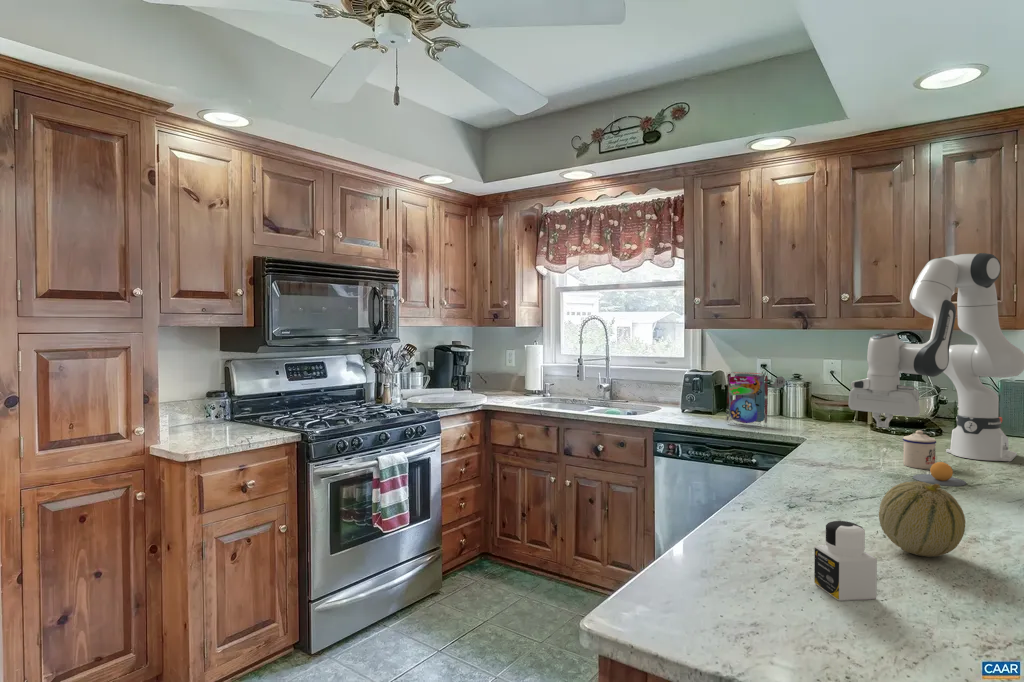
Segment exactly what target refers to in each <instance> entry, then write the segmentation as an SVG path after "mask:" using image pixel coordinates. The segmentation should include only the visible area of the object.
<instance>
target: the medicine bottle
mask: <svg viewBox="0 0 1024 682" xmlns="http://www.w3.org/2000/svg"><path fill="white" fill-rule="evenodd" d="M865 540H866V530H865V529H864V528H863V527H862V526H860V525H858V524H857V523H854V522H851V521H847V520H846V521H845V520H833V521H830V522H827V524H825V544H821V545H819V544H818V545H815V546H814V566H813V568H814V570H813V571H814V573H813V576H814V578H813V579H814V585H816V586H818V587H819V588H820V589H821V590H823V591H825V592H826V593H827V594H829V595H830V596H831V597H833V598H834V599H835V600H836V601H838V602H842V601H844V602H845V601H846V602H847V601H861V600H863V601H864V600H876V599H877V598H878V597H877V595H878V591H877V589H878V587H877V586H878V577H877V576H878V559H877V558H876V557H875V556H873V555H871V554H869V553H868V552H865V551H866V550H865V549H866V547H865V546H866V544H865V542H866V541H865Z"/></svg>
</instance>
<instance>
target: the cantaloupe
mask: <svg viewBox="0 0 1024 682" xmlns="http://www.w3.org/2000/svg"><path fill="white" fill-rule="evenodd" d="M881 499H882V500H881V502H880V505H879V510H878V520H879V525H880V528H881V530H882V532H883V533H884V535H885V536H886V537H888V539H889V540H890V541H891V543H893V544H894V545H895V546H897V547H898V548H900V549H901V550H902V551H904V552H906V553H910V554H913V555H915V556H920V557H927V558H929V557H940V556H943V555H946V554H949V553H951V552H952V551H954V550H955V549H956V548H957V547H958V545H959V544H960V543H961V541H962V539H963V538H964V535H965V530H966V524H967V523H966V516H965V513H964V510H963V509H962V507H961V505H960V504H959V502H958V501H957V500H956V499H955V497H954V496H953V495H952V494H950V493H949V492H948V490H945V489H943V488H942V487H941V485H939V484H928V483H925V482H920V481H917V480H915V481H905V482H901V483H898V484H897V485H894V486H892V487H891V488H890V489H888V491H887V492H886V493H885V494H884V496H883V497H882V498H881Z"/></svg>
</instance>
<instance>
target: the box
mask: <svg viewBox="0 0 1024 682" xmlns="http://www.w3.org/2000/svg"><path fill="white" fill-rule="evenodd" d="M732 374H735V375H734V376H732ZM768 376H769V375H768V374H767V373H763V372H749V371H748V372H745V371H742V372H741V371H729V372H728V373H727V374H726V378H727V380H726V385H727V390H725V391H726V394H725V395H726V396H725V397H726V404H727V405H726V423H729V419H731V421H732V422H731V423H732V424H731V427H732V426H733V427H734V425H736V423H740V425H745V424H749V426H751V427H753V428H755V429H756V426H753V423H754V422H755V423H754V425H757V426H758V425H760V424H761V422H764V425H763V426H764V427H763V426H762V425H760V426H758V427H759V428H762V429H763V428H767V427H768V425H767V424H768V404H769V403H768V401H769V400H768V396H769V395H768V394H769V388H768V386H769V385H768V380H769V377H768ZM785 383H786V380H785V378H784V377H783V376H777V377H776V378H775V381H774V383H772V384H770V386H771V387H776V388H778V389H779V388H782V387H783V386H785ZM732 396H734V397H735V398H734V399H733V398H732ZM728 409H729V410H728ZM728 414H729V416H728ZM733 421H735V422H736V423H735V422H733ZM756 422H757V423H756ZM751 423H752V425H751ZM740 427H742V428H743V426H740Z"/></svg>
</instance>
